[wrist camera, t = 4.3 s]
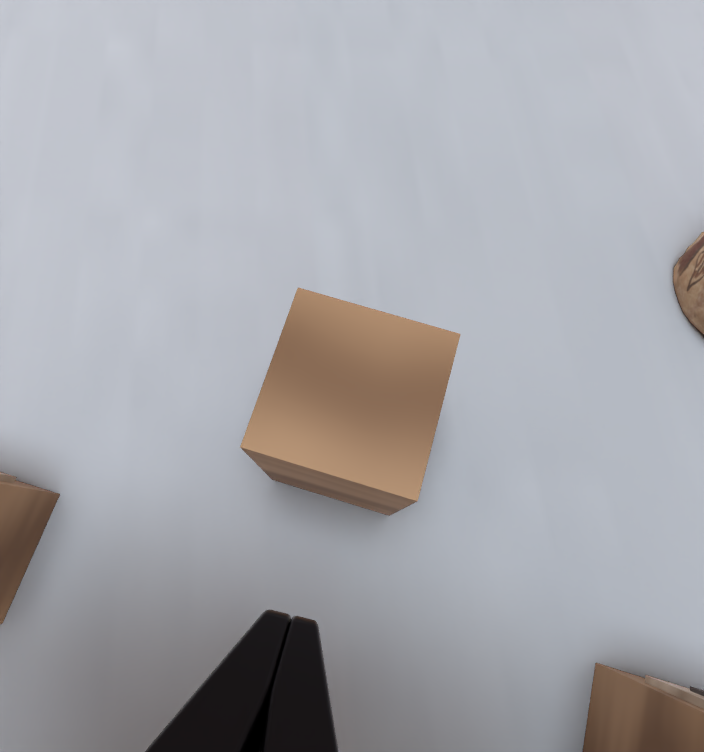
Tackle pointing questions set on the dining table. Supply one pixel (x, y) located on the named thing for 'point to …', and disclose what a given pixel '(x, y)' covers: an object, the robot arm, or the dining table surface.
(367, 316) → the plain block
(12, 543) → the tile block
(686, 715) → the tile block
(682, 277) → the figurine
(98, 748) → the dining table surface
